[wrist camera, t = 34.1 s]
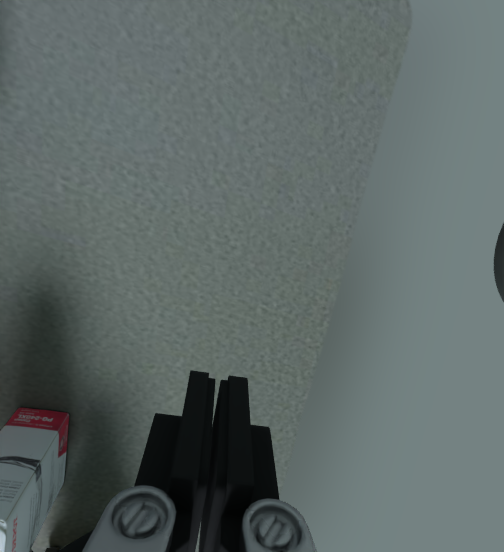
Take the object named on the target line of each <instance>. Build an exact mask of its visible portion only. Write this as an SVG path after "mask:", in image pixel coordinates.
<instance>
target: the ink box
mask: <svg viewBox="0 0 504 552" xmlns="http://www.w3.org/2000/svg"><path fill="white" fill-rule="evenodd" d="M68 425H69V414H68V413H65V412H58V411H50V410H40V409H31V408H23V407H20V408H18V409H17V410H16V412H15V413H14V414H13V416H12V417H11V418H10V419H9V421H8V422H7V423H6V424H5V426H4V427H3V428H2V429H1V431H0V552H29V551H30V549H31V547H32V545H33V543H34V541H35V539H36V537H37V535H38V533H39V531H40V529H41V527H42V525H43V523H44V521H45V519H46V517H47V515H48V513H49V511H50V509H51V507H52V505H53V503H54V501H55V499H56V497H57V495H58V493H59V491H60V489H61V487H62V485H63V483H64V476H65V463H66V450H67V438H68Z"/></svg>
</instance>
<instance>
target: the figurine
mask: <svg viewBox="0 0 504 552" xmlns="http://www.w3.org/2000/svg"><path fill="white" fill-rule="evenodd" d="M57 551H59V548H47V549H46V551H45V552H57ZM29 552H33V551H32V549H30V551H29Z"/></svg>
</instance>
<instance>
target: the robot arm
mask: <svg viewBox="0 0 504 552" xmlns="http://www.w3.org/2000/svg"><path fill="white" fill-rule="evenodd" d="M208 377H209V373H206V372H198V371H190V376H189V382H188V387H187V393H186V398H185V403H184V409H183V414H182V416H174V415H166V414H158V413H156V414H155V416H154V419H153V423H152V426H151V430H150V433H149V437H148V440H147V444H146V447H145V451H144V454H143V458H142V461H141V465H140V468H139V472H138V475H137V479H136V482H135V486H134V487H130V488H128V489H125V490H123V491H121V492H120V493H118V494H117V495H116V496H114V497H113V498H112V499H111V501H110V502H109V503H108V505H107V506H106V508H105V510H104V512H103V514H102V515H101V517H100V519H99V521H98V523H97V525H96V527H95V528H94V530H92V531H91V532H89V533H87V534H86V535H84V536H82V537H81V538H79V539H77V540H76V541H74V542H72V543H71V544H69V545H67V546H66V547H64V548H62V549H61V550H59V551H57V552H195V549H196V544H197V538H198V533H199V528H200V522H201V530H200V542H199V552H317V551H316V548H315V545H314V542H313V539H312V536H311V533H310V531H309V528H308V526H307V524H306V521H305V519H304V518H303V516H302V515H301V514H300V513H299V512H298V511H297V509H295V508H294V507H292V506H291V505H289V504H288V503H286V502H283V501H280V500H279V493H278V486H277V478H276V471H275V463H274V456H273V448H272V440H271V433H270V428H269V427H264V426H256V425H250V410H249V394H248V380H247V378H243V377H236V376H229V377H228V380H221V382H220V387H219V393H218V398H217V404H216V409H215V415H214V420H213V406H214V392H215V379H213V378H208ZM212 420H213V426H212Z"/></svg>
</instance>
